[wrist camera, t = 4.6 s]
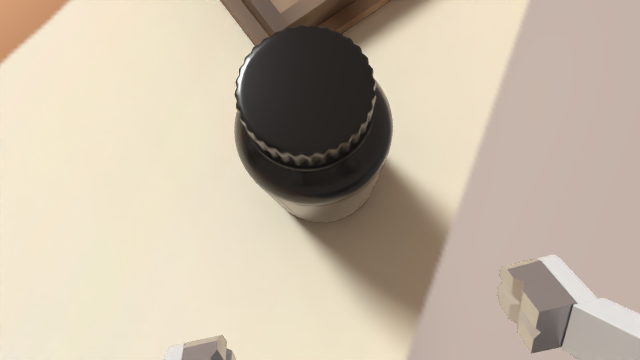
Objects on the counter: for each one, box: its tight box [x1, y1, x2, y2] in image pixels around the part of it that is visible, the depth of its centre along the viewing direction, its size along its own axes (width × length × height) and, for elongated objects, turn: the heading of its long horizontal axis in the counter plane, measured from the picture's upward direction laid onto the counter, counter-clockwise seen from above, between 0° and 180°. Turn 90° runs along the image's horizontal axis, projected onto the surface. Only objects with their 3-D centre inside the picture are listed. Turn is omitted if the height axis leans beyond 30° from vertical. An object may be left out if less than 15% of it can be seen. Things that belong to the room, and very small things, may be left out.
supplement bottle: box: [234, 25, 393, 223], centre depth 19 cm, size 7×7×12 cm
